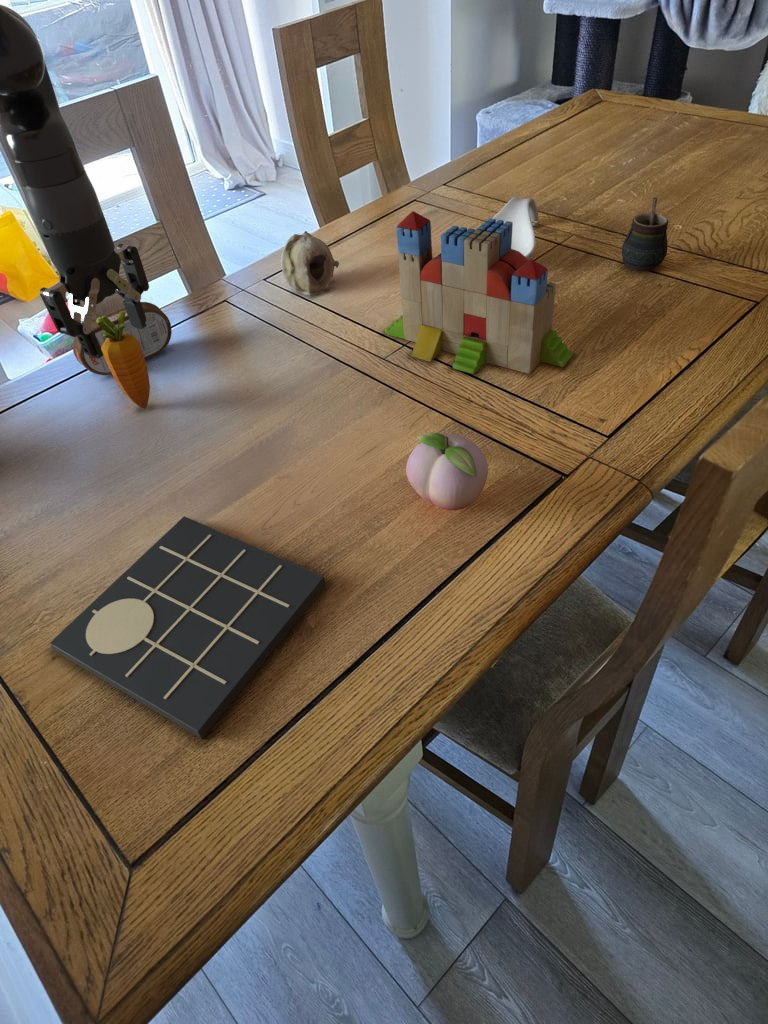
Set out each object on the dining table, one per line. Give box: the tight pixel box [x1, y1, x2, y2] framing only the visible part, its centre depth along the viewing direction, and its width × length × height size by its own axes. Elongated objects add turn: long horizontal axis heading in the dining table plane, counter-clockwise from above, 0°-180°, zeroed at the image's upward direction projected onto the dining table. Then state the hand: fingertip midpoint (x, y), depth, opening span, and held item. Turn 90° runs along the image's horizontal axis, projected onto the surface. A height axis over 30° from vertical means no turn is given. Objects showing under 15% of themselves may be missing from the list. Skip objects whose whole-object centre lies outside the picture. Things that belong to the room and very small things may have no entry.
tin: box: [72, 301, 172, 376], centre depth 106 cm, size 15×3×8 cm, turn 130°
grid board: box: [49, 515, 327, 740], centre depth 72 cm, size 20×20×2 cm
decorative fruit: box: [405, 431, 489, 511], centre depth 78 cm, size 9×8×10 cm
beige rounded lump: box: [280, 230, 340, 296], centre depth 119 cm, size 9×8×10 cm
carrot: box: [96, 311, 151, 409], centre depth 95 cm, size 5×5×15 cm
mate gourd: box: [621, 197, 669, 273], centre depth 115 cm, size 7×8×10 cm
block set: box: [384, 210, 574, 375], centre depth 98 cm, size 28×14×19 cm, turn 57°
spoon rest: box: [492, 196, 539, 261], centre depth 124 cm, size 24×12×7 cm, turn 158°
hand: (118, 341), depth 92 cm, fingers open, 7 cm apart
